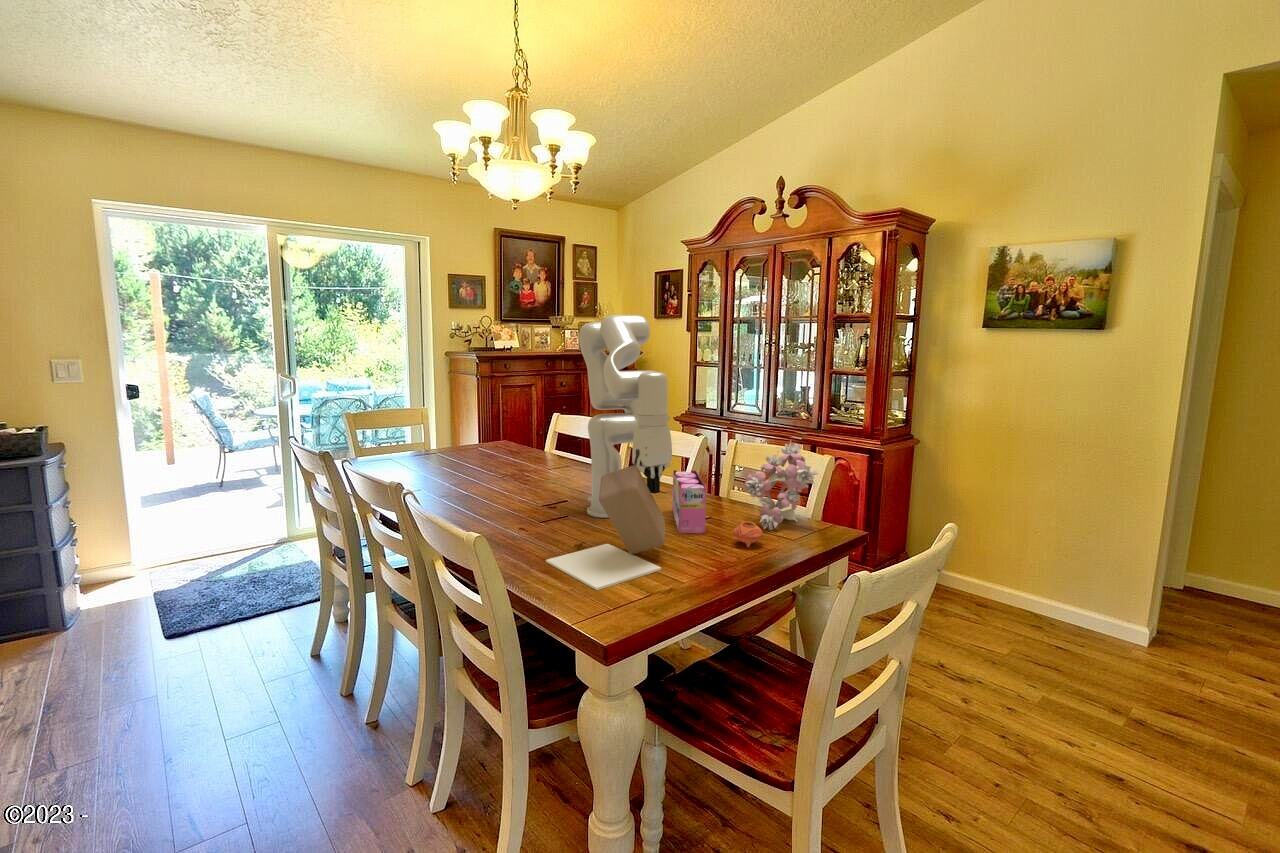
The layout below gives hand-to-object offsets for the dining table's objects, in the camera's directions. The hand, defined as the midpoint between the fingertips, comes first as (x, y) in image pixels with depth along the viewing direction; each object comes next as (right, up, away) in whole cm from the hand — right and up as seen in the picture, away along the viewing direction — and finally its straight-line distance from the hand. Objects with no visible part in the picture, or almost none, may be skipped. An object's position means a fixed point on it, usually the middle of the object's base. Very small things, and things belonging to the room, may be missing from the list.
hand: (653, 492), depth 157 cm
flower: (+37, -13, +26) cm, 47 cm away
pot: (+26, -15, +9) cm, 31 cm away
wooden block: (-1, -12, +2) cm, 12 cm away
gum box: (+11, -12, +29) cm, 33 cm away
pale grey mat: (-13, -17, -7) cm, 22 cm away
